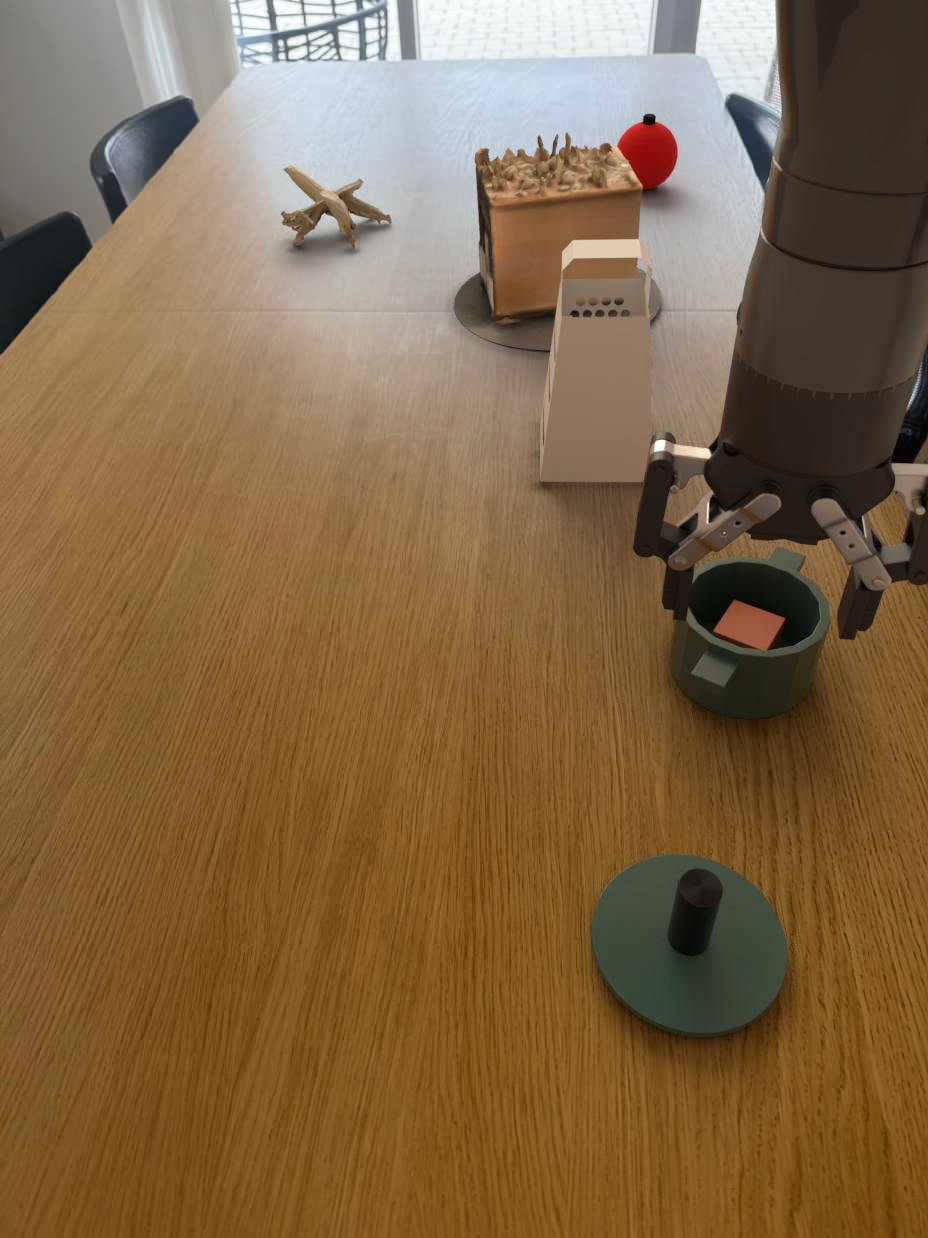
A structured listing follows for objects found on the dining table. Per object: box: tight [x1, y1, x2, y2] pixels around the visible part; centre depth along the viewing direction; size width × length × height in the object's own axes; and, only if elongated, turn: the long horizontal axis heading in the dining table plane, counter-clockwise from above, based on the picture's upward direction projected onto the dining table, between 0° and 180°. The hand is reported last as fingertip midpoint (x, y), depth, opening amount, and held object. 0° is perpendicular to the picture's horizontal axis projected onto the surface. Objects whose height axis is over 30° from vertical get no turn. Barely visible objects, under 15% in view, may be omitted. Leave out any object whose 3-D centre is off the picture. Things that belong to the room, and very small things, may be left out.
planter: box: [453, 132, 662, 351], centre depth 111 cm, size 25×25×19 cm
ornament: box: [616, 113, 679, 190], centre depth 140 cm, size 9×9×10 cm
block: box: [712, 600, 786, 650], centre depth 71 cm, size 4×4×4 cm
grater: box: [539, 238, 653, 483], centre depth 88 cm, size 10×10×20 cm
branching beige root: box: [280, 164, 392, 249], centre depth 134 cm, size 9×16×15 cm
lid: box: [590, 853, 789, 1038], centre depth 55 cm, size 11×11×7 cm
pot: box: [668, 545, 832, 720], centre depth 71 cm, size 10×16×6 cm, turn 146°
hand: (761, 619), depth 52 cm, fingers open, 8 cm apart
